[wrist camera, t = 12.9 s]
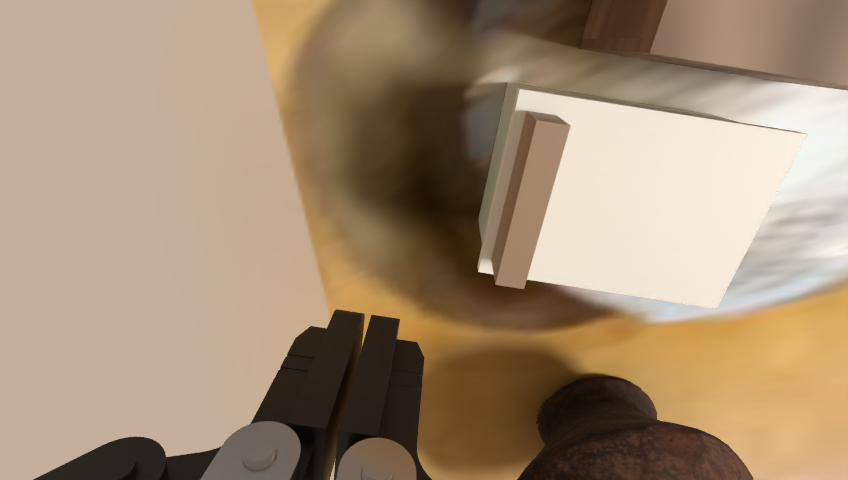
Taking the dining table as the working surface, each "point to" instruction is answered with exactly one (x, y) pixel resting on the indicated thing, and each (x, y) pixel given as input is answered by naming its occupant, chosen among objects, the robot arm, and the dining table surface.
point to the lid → (629, 197)
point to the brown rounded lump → (623, 439)
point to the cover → (729, 36)
